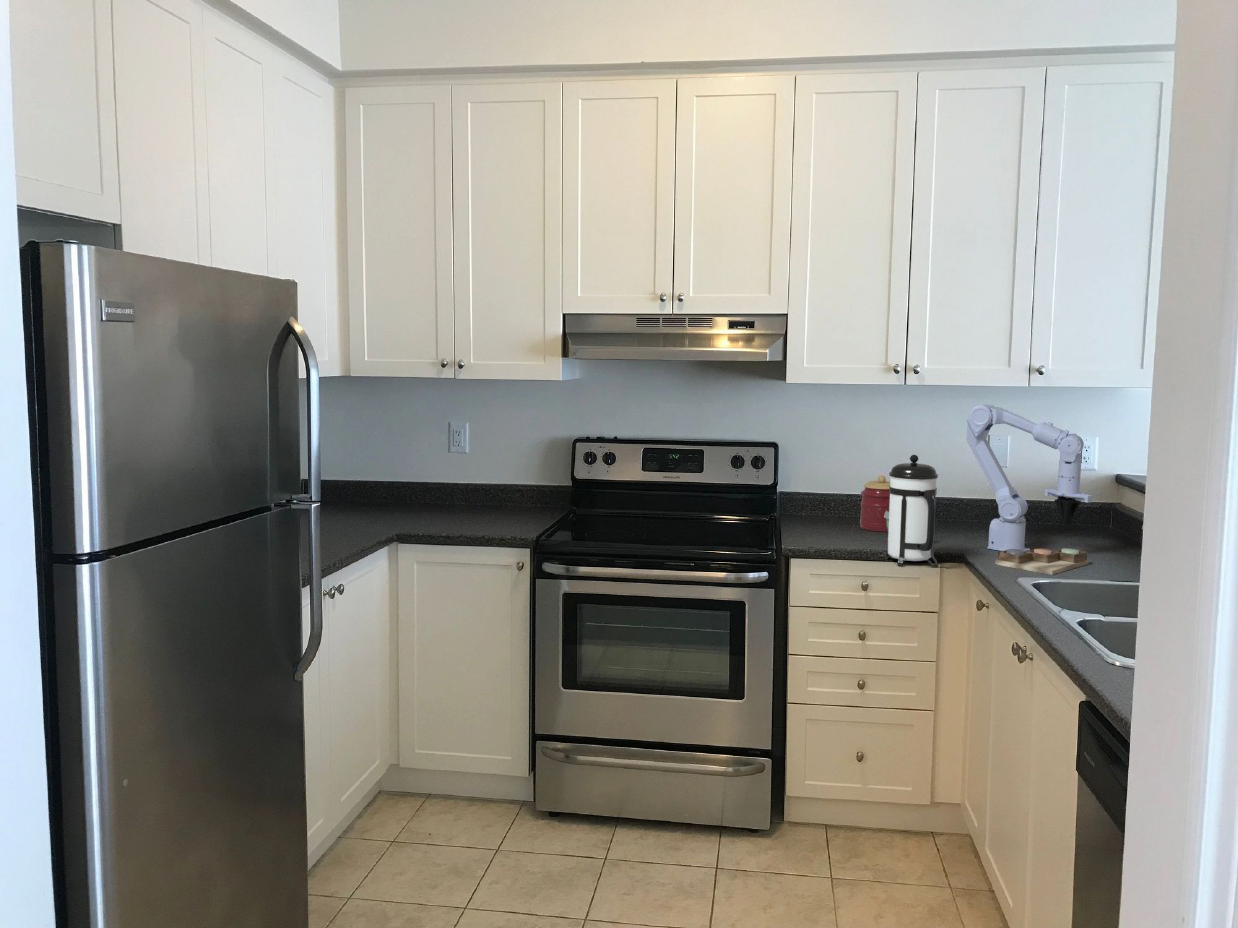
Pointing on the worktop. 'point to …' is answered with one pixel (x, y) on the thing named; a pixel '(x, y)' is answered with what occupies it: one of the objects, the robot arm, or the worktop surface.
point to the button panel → (1043, 561)
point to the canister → (875, 505)
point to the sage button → (1070, 551)
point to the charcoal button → (1015, 551)
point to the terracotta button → (1042, 551)
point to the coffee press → (912, 512)
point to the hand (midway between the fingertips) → (1066, 524)
